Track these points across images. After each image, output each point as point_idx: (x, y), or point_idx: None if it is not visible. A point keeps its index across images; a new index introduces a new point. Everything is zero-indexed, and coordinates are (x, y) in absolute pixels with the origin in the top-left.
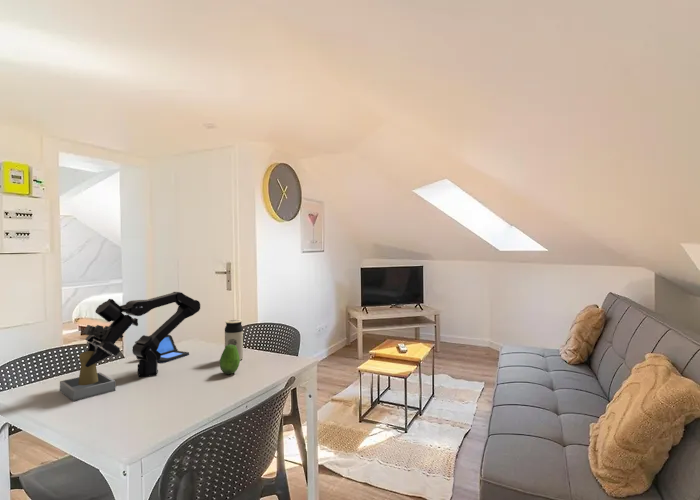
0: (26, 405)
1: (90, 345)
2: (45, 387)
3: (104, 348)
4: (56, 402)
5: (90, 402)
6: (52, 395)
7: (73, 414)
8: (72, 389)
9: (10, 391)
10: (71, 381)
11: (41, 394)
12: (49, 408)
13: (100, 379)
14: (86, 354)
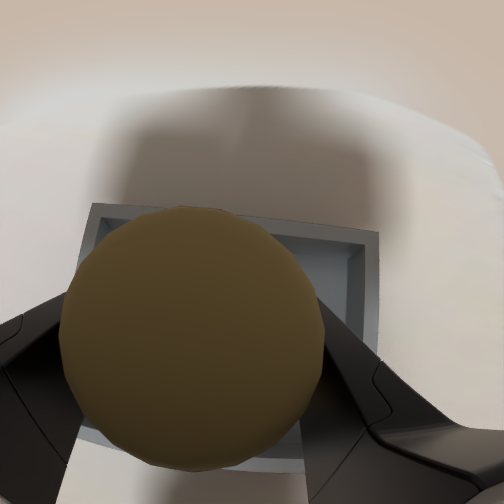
0: (259, 107)
1: (416, 488)
2: (459, 235)
3: None
4: (178, 178)
5: (38, 265)
6: (310, 204)
7: (3, 179)
8: (124, 209)
9: (481, 152)
10: (360, 294)
11: (370, 185)
12: (131, 142)
13: (296, 448)
14: (83, 262)
